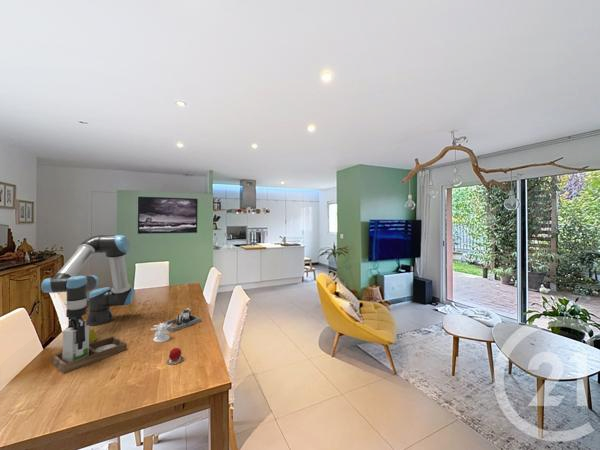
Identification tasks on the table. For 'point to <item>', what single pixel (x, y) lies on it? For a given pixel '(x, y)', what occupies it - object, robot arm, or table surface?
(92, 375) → the table surface
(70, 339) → the skincare box
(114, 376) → the table surface
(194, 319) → the valet frame
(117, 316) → the table surface
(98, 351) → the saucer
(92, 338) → the lemon
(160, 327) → the figurine
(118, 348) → the divided wooden tray
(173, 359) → the red push button
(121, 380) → the table surface
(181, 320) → the camera
